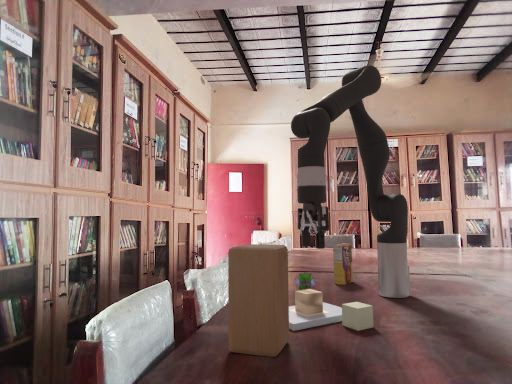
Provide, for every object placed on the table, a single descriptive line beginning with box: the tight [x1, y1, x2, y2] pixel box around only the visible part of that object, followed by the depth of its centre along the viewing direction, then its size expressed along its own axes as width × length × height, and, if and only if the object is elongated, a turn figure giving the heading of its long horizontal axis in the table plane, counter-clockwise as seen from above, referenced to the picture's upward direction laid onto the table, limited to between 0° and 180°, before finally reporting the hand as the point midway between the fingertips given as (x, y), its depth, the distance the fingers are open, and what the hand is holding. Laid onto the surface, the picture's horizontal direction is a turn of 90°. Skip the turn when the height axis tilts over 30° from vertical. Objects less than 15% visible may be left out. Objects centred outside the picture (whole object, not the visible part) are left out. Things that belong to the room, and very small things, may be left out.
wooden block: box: [227, 243, 290, 358], centre depth 73 cm, size 10×10×20 cm
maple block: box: [294, 288, 324, 315], centre depth 94 cm, size 5×5×5 cm
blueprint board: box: [289, 301, 342, 332], centre depth 93 cm, size 20×14×2 cm
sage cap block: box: [341, 301, 374, 332], centre depth 86 cm, size 5×5×5 cm
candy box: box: [332, 242, 354, 286], centre depth 143 cm, size 9×4×15 cm, turn 141°
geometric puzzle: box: [294, 271, 316, 291], centre depth 127 cm, size 7×7×8 cm
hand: (312, 247), depth 94 cm, fingers open, 8 cm apart
